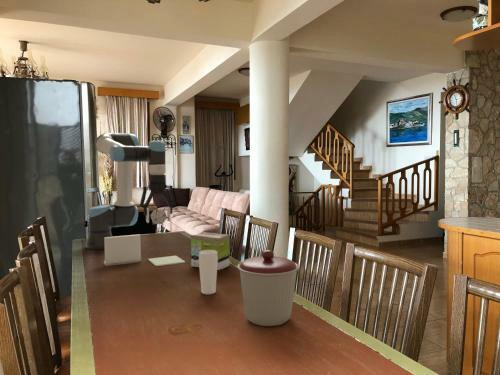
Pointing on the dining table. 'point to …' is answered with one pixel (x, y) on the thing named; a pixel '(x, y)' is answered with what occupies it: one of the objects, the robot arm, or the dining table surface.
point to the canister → (268, 288)
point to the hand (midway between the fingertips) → (158, 221)
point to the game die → (158, 216)
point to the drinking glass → (208, 270)
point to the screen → (122, 250)
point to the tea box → (210, 247)
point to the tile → (166, 260)
